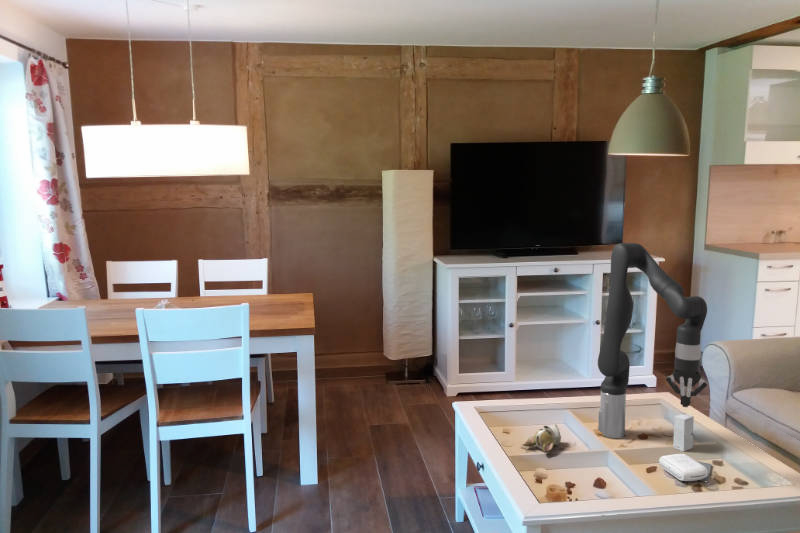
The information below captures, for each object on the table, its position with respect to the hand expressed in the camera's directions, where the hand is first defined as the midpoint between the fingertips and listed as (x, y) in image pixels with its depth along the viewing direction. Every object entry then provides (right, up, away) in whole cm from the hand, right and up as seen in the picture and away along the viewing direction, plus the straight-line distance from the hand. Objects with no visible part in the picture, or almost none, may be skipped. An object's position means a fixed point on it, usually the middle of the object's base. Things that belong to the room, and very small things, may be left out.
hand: (685, 406), depth 195 cm
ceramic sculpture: (-42, -21, +21) cm, 51 cm away
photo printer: (-3, -19, +3) cm, 19 cm away
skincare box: (+8, -20, +19) cm, 28 cm away
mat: (+3, -22, +1) cm, 22 cm away
